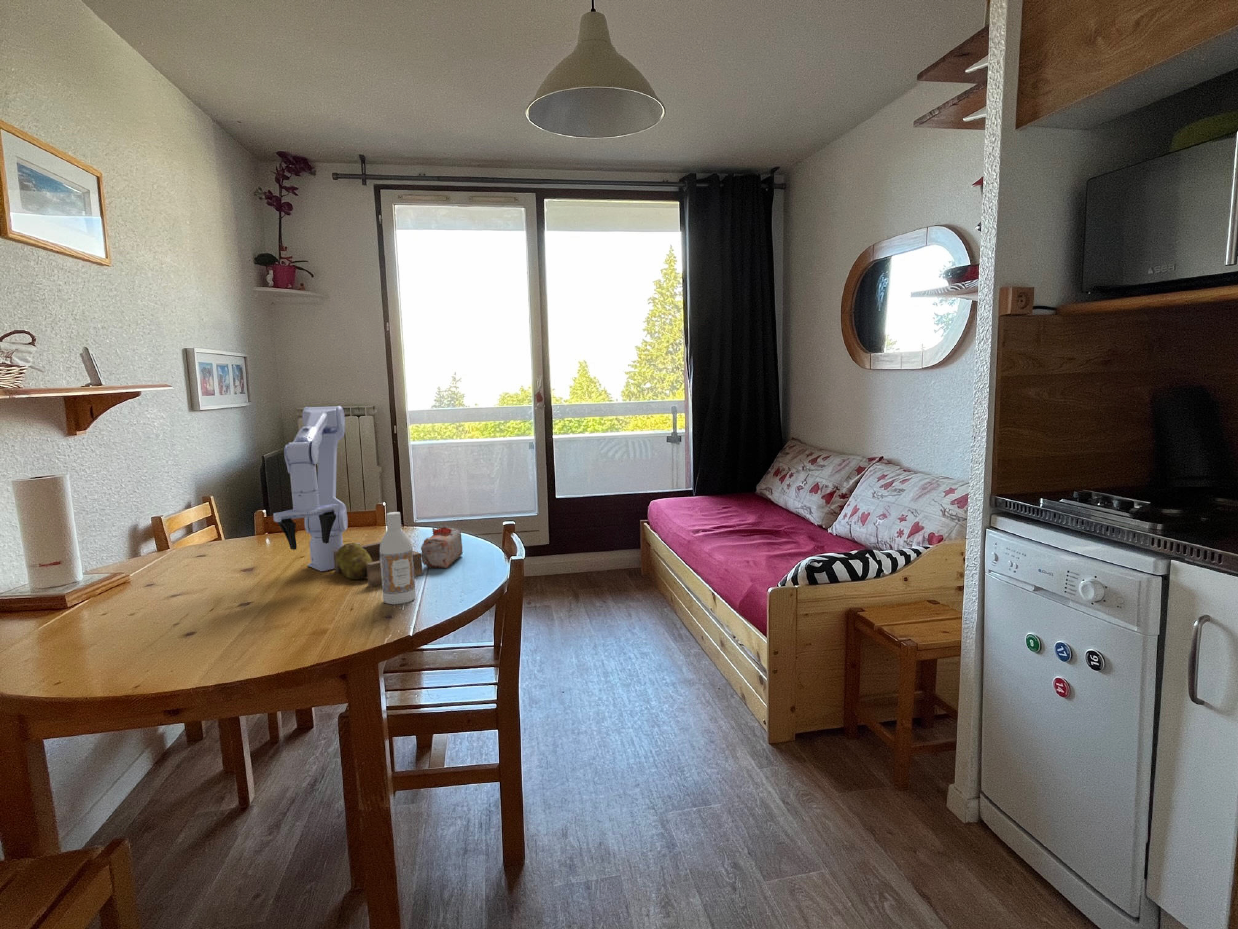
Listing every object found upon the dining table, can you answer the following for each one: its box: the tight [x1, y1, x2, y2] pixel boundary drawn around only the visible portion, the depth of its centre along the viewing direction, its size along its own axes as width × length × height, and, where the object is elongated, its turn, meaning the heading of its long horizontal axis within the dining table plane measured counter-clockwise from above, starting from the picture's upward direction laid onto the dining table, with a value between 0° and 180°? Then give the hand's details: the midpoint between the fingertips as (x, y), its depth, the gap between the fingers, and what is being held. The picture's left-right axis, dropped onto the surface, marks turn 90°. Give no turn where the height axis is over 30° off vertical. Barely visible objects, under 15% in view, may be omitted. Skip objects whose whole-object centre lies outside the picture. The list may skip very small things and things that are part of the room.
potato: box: [336, 542, 373, 580], centre depth 165 cm, size 8×13×8 cm, turn 27°
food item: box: [420, 526, 463, 569], centre depth 176 cm, size 14×8×10 cm, turn 176°
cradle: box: [333, 541, 423, 588], centre depth 168 cm, size 21×14×6 cm, turn 47°
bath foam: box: [380, 511, 416, 605], centre depth 145 cm, size 7×7×20 cm
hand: (309, 545), depth 158 cm, fingers open, 7 cm apart
